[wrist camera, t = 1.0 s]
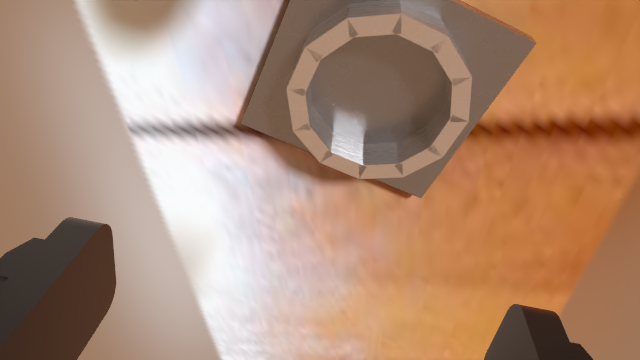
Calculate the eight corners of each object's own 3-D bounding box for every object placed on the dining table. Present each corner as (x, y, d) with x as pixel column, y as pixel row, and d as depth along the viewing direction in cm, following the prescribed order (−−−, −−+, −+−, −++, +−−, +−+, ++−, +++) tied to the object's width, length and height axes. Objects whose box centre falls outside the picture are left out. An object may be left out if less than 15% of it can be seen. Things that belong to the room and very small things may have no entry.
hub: (243, 116, 32) (232, 143, 29) (318, -72, 25) (312, -58, 22) (419, 189, 34) (424, 221, 31) (531, 36, 27) (549, 60, 25)
